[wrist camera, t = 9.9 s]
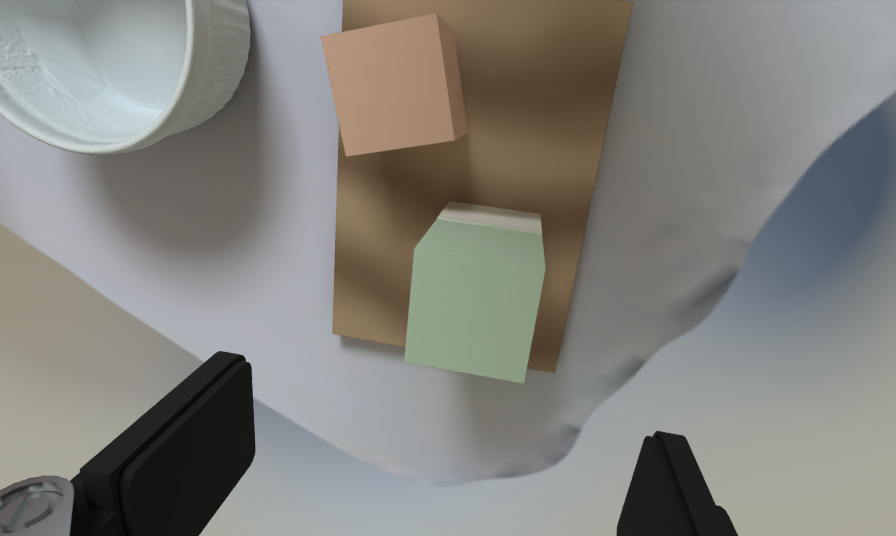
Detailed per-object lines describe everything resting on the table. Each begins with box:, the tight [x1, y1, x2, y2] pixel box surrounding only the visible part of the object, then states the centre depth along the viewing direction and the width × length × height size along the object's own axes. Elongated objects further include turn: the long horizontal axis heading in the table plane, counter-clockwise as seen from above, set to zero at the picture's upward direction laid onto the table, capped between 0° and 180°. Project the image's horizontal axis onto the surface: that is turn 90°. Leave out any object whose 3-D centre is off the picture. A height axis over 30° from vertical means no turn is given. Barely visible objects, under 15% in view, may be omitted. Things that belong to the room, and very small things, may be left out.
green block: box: [404, 219, 546, 383], centre depth 22 cm, size 5×5×5 cm
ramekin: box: [0, 0, 251, 155], centre depth 24 cm, size 13×13×7 cm
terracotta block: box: [321, 13, 468, 156], centre depth 23 cm, size 5×5×5 cm
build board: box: [332, 0, 633, 373], centre depth 26 cm, size 20×14×5 cm
